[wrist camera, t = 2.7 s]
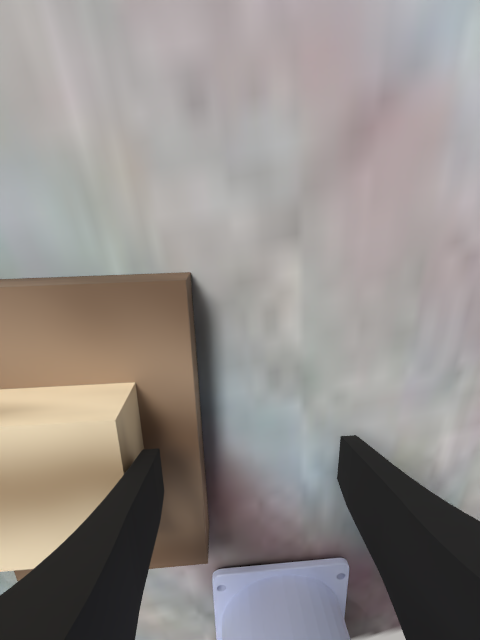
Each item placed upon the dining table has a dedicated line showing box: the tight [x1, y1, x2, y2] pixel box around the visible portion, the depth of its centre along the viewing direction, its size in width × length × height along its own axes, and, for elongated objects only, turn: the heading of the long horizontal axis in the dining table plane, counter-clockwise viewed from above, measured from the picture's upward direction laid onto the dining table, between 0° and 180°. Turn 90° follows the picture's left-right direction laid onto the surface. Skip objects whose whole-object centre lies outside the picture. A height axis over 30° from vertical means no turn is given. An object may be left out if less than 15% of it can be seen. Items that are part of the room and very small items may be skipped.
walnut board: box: [0, 272, 209, 581], centre depth 14 cm, size 14×9×2 cm, turn 2°
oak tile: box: [0, 382, 144, 572], centre depth 12 cm, size 6×6×2 cm
